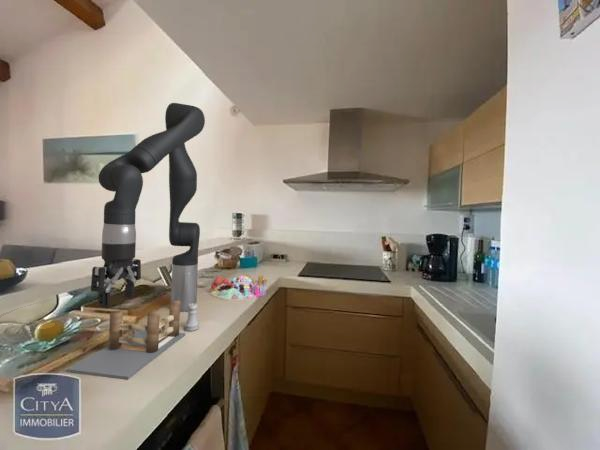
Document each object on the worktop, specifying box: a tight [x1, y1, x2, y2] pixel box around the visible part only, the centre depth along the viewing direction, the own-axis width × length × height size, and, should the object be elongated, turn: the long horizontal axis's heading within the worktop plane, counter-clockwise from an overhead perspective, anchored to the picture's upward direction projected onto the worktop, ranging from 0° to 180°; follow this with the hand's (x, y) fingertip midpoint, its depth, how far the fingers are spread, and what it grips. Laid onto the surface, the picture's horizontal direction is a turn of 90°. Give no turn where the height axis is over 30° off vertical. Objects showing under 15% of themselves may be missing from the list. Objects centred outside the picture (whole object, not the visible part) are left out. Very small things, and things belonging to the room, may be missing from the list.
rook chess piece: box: [184, 303, 200, 332], centre depth 91 cm, size 4×4×8 cm
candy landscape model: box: [209, 273, 269, 301], centre depth 135 cm, size 25×24×9 cm
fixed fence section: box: [146, 300, 181, 353], centre depth 79 cm, size 13×3×10 cm, turn 173°
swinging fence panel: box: [108, 310, 147, 349], centre depth 75 cm, size 10×3×9 cm, turn 88°
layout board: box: [66, 330, 186, 380], centre depth 75 cm, size 24×15×1 cm, turn 173°
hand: (117, 301), depth 76 cm, fingers open, 8 cm apart
